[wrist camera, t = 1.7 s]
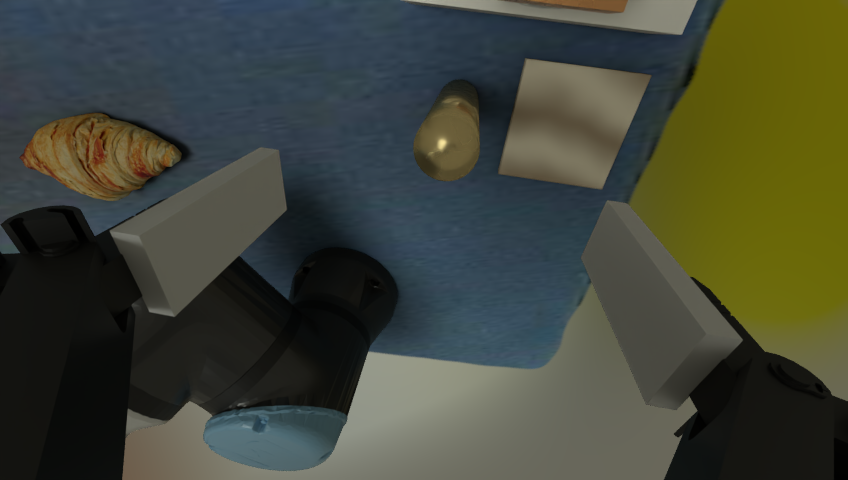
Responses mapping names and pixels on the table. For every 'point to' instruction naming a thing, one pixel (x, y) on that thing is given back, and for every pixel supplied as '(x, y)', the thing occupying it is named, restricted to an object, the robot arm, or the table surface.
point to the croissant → (99, 155)
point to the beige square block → (588, 14)
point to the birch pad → (569, 122)
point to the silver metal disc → (577, 5)
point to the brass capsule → (450, 133)
